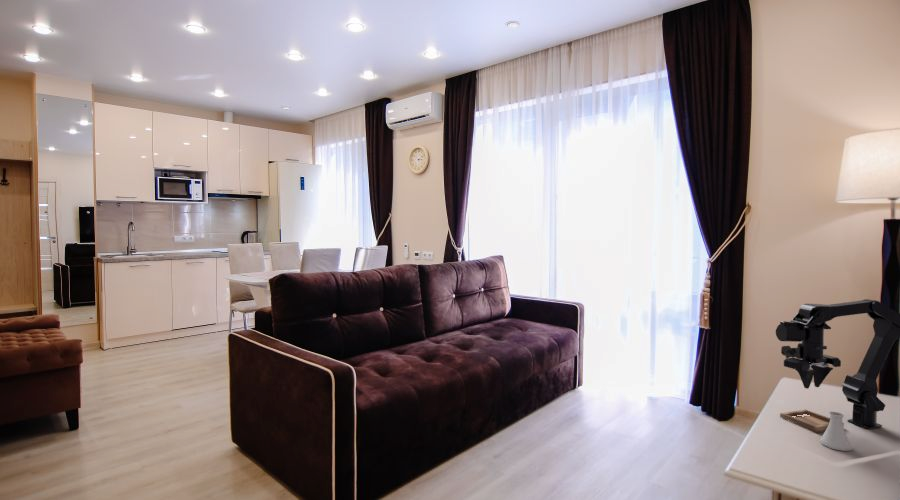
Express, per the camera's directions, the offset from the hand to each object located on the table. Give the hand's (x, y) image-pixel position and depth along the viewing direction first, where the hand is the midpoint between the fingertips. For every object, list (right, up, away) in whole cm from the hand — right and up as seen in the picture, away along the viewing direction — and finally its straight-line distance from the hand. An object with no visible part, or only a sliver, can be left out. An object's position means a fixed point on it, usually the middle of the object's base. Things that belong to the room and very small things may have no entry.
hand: (811, 387), depth 151 cm
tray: (0, -12, 0) cm, 12 cm away
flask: (-6, -13, -16) cm, 21 cm away
